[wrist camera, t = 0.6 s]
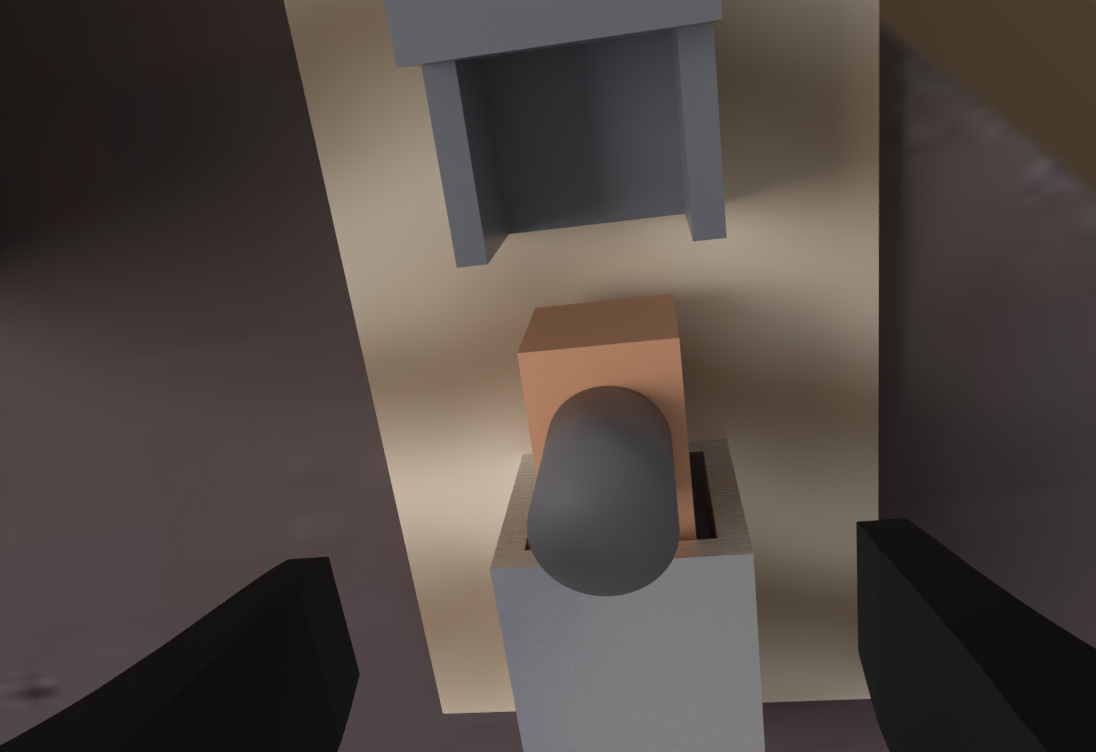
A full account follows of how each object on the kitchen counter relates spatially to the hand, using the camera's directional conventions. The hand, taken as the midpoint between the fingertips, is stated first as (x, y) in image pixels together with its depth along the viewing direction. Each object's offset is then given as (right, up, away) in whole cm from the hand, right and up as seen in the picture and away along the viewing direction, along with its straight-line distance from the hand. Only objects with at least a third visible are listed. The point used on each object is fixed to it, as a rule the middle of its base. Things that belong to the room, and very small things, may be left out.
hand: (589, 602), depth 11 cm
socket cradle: (0, +9, +6) cm, 11 cm away
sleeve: (+2, -2, +10) cm, 11 cm away
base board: (+1, +3, +9) cm, 10 cm away
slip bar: (+2, 0, +10) cm, 10 cm away
